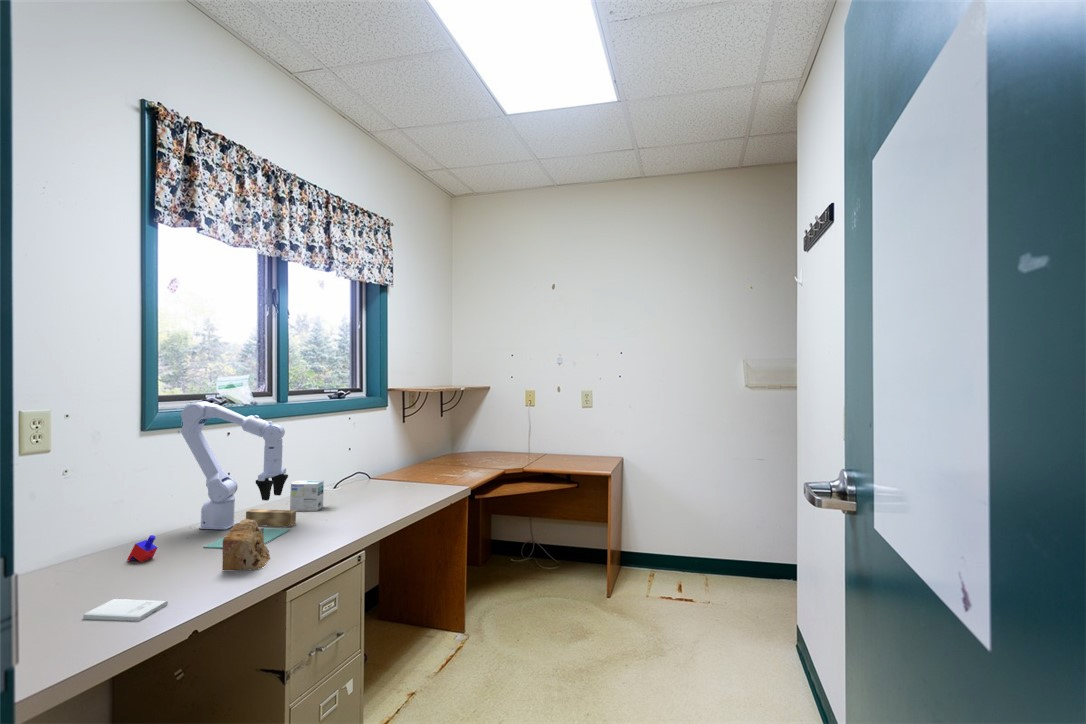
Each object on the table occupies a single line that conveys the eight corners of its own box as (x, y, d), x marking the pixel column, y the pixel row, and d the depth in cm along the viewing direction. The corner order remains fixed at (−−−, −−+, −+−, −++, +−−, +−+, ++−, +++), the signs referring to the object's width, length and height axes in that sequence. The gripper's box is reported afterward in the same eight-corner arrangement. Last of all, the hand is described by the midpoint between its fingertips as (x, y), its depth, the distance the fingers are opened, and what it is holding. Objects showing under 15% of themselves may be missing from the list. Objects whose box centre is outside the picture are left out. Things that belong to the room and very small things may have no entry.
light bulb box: (323, 507, 210) (324, 480, 211) (317, 511, 203) (318, 483, 204) (296, 507, 210) (297, 479, 210) (289, 511, 203) (290, 483, 203)
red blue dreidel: (138, 567, 146) (151, 542, 146) (126, 559, 147) (139, 534, 147) (149, 563, 150) (162, 538, 150) (138, 555, 150) (150, 531, 150)
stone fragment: (257, 572, 154) (230, 529, 155) (288, 551, 155) (260, 509, 156) (231, 589, 140) (201, 542, 141) (264, 567, 141) (235, 519, 142)
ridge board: (203, 548, 159) (203, 541, 159) (243, 528, 179) (243, 523, 179) (255, 549, 158) (255, 543, 158) (289, 530, 178) (289, 524, 178)
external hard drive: (115, 605, 121) (167, 606, 120) (82, 621, 113) (139, 623, 112) (115, 597, 121) (168, 599, 120) (83, 614, 113) (139, 616, 112)
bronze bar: (245, 526, 183) (246, 511, 183) (251, 523, 187) (251, 509, 187) (290, 527, 183) (290, 512, 183) (295, 524, 186) (296, 510, 186)
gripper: (272, 462, 178) (271, 502, 177) (294, 456, 192) (293, 493, 192) (252, 462, 178) (250, 502, 178) (275, 455, 193) (274, 492, 192)
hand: (271, 497), depth 185 cm, fingers open, 7 cm apart
